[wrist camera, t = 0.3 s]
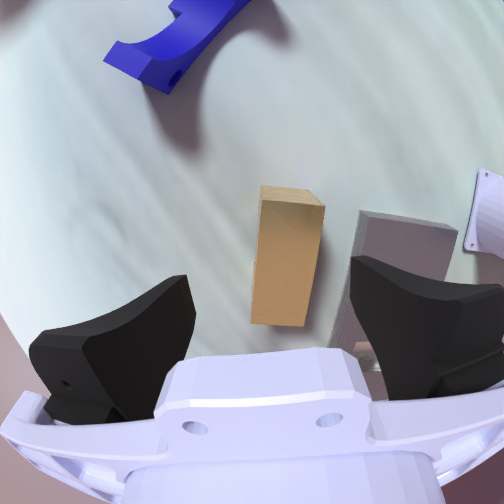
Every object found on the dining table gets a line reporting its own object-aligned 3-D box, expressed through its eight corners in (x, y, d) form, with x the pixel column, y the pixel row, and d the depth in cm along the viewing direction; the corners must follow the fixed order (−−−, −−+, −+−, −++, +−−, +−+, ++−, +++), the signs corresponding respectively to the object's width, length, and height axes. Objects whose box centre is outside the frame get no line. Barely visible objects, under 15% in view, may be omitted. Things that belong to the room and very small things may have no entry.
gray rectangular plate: (445, 223, 21) (458, 231, 19) (383, 386, 28) (389, 399, 26) (359, 209, 20) (369, 216, 18) (313, 390, 28) (315, 404, 26)
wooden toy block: (308, 190, 20) (325, 205, 15) (294, 287, 23) (303, 326, 18) (260, 185, 20) (262, 199, 15) (252, 284, 23) (250, 323, 18)
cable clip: (220, -32, 13) (210, -71, 8) (265, -12, 14) (267, -53, 8) (127, 71, 17) (87, 53, 11) (168, 95, 18) (136, 79, 12)
